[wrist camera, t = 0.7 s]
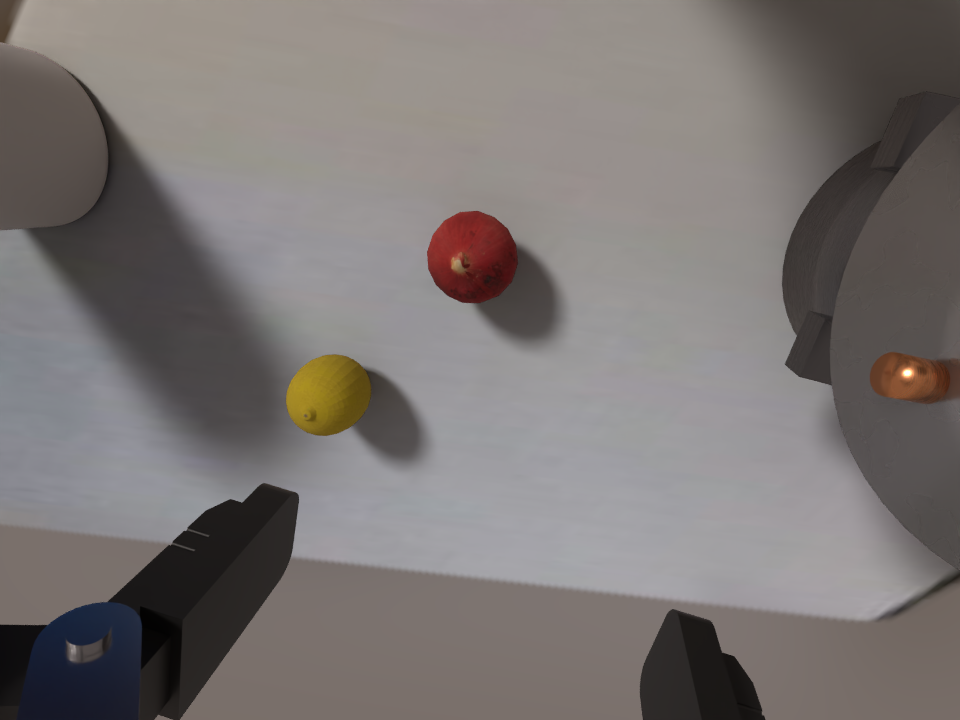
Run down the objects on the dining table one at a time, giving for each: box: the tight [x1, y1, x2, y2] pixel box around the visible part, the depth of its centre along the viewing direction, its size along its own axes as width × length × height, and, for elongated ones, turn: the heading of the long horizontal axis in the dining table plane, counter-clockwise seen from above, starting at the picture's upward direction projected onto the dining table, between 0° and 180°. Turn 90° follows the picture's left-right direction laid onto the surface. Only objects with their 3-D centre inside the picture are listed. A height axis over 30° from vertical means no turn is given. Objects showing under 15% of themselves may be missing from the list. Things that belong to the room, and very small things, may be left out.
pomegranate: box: [427, 211, 518, 303], centre depth 36 cm, size 6×6×8 cm
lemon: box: [286, 355, 371, 436], centre depth 40 cm, size 6×6×8 cm
